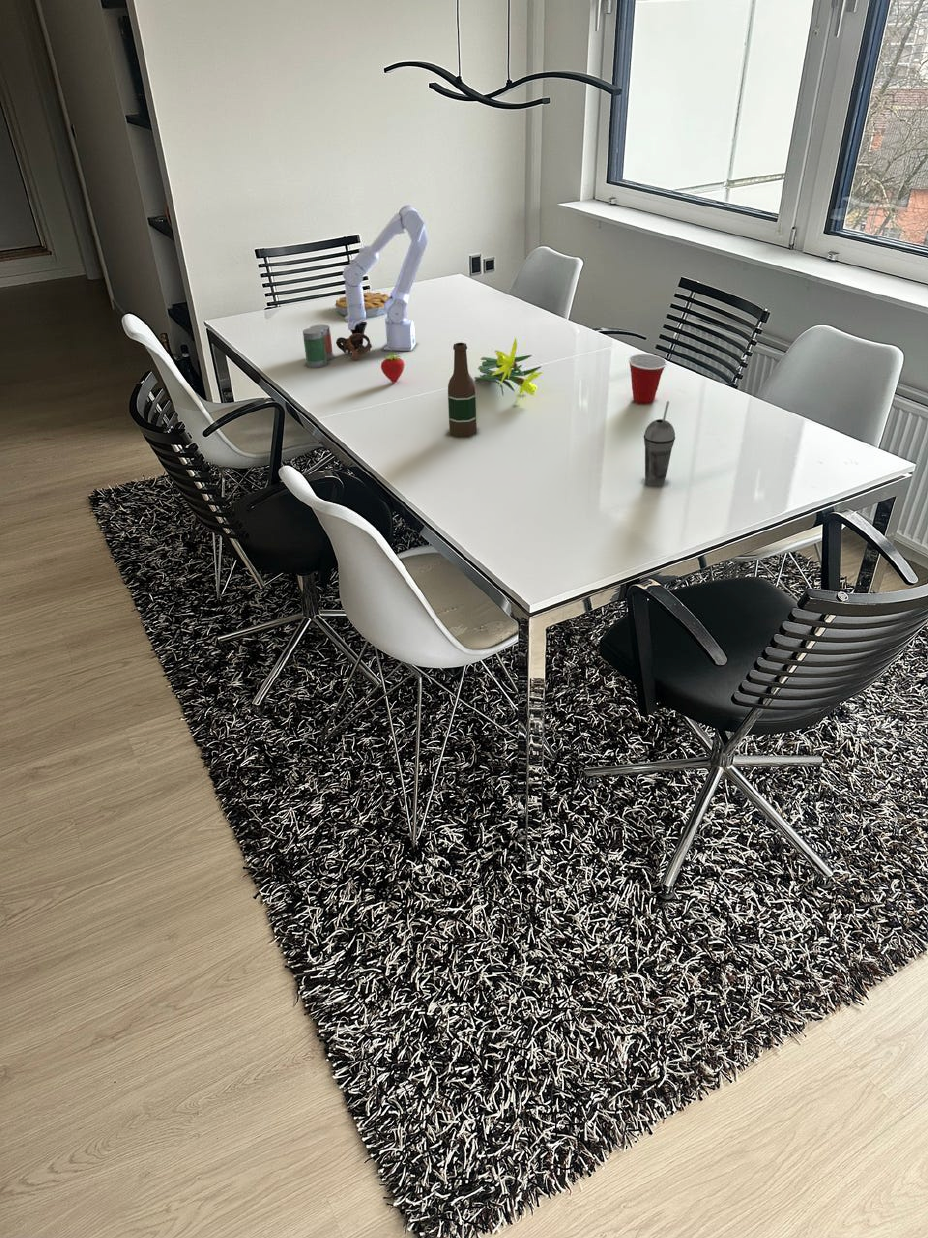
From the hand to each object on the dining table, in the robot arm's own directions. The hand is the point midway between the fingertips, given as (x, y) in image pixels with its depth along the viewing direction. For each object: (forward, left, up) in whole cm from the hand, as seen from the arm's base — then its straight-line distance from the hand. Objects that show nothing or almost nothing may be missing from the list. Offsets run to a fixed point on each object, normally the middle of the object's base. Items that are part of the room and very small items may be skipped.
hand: (359, 344), depth 300 cm
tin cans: (+10, +11, -2) cm, 16 cm away
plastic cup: (-95, +37, -2) cm, 102 cm away
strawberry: (-19, +29, -2) cm, 35 cm away
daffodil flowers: (-53, +35, -2) cm, 64 cm away
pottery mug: (0, +5, -2) cm, 6 cm away
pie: (+11, -47, -2) cm, 48 cm away
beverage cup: (-98, +90, -2) cm, 133 cm away
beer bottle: (-47, +65, -2) cm, 81 cm away
